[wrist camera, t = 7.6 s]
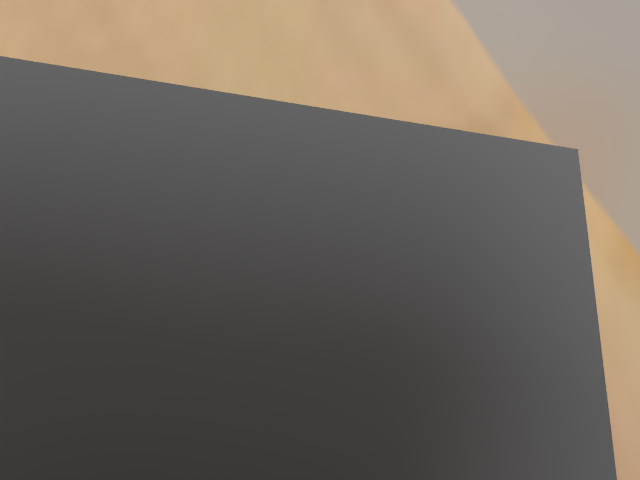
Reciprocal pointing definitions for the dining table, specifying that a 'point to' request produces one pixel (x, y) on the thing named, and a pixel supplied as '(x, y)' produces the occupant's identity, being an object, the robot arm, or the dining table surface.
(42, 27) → the dining table surface
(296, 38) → the dining table surface
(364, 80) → the dining table surface
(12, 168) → the brick
